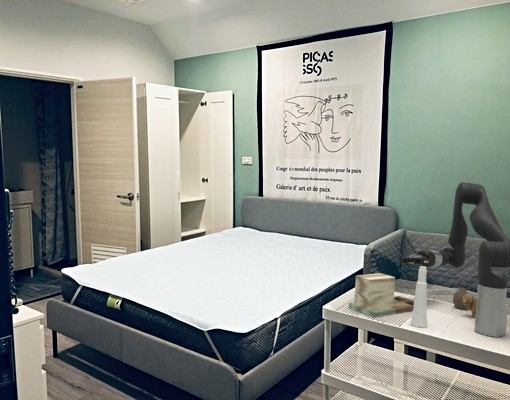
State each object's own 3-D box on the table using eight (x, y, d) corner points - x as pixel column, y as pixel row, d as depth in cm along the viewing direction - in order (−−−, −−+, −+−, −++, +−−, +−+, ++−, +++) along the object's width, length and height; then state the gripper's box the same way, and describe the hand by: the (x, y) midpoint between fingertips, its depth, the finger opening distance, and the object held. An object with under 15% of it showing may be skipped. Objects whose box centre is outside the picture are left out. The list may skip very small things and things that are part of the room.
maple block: (393, 306, 180) (395, 277, 180) (368, 310, 173) (370, 280, 173) (378, 301, 187) (380, 273, 187) (354, 304, 180) (356, 275, 180)
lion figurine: (459, 316, 178) (460, 294, 178) (463, 313, 182) (465, 292, 182) (499, 325, 169) (501, 302, 168) (502, 322, 173) (504, 300, 172)
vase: (454, 309, 188) (455, 289, 187) (450, 305, 194) (452, 285, 194) (471, 311, 186) (473, 291, 186) (467, 306, 193) (469, 287, 192)
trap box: (425, 309, 186) (425, 304, 186) (373, 317, 171) (374, 312, 171) (399, 300, 198) (399, 295, 198) (348, 307, 183) (349, 302, 183)
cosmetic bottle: (409, 321, 168) (413, 264, 167) (426, 323, 167) (430, 266, 166) (410, 326, 162) (415, 267, 161) (428, 328, 161) (432, 269, 160)
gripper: (417, 248, 201) (390, 249, 192) (442, 252, 190) (415, 253, 181) (416, 264, 201) (389, 266, 192) (441, 270, 190) (414, 272, 181)
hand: (402, 260), depth 186 cm, fingers closed
